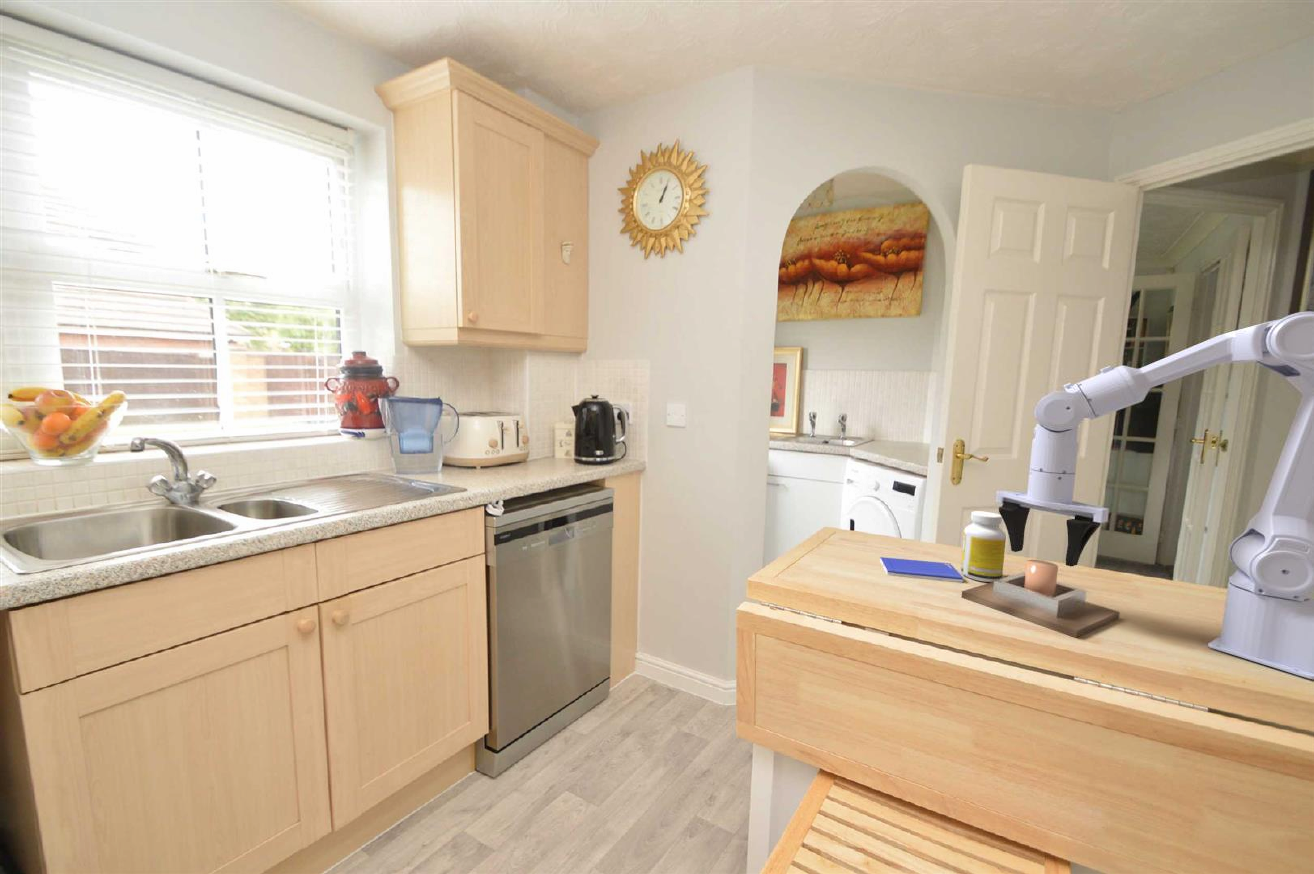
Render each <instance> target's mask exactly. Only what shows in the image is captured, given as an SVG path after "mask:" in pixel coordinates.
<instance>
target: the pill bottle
mask: <svg viewBox="0 0 1314 874" xmlns="http://www.w3.org/2000/svg"><path fill="white" fill-rule="evenodd" d="M970 520H971V521H972V523H971V524H969V525H967V526H965V528H964V531H963V540H962V541H963V543H962V551H961V552H962V553H961V554H962V555H961V565H960V572H961V574H962V576H965V577H966V578H969V579H971V580H975V581H979V582H984V583H985V582H986V583H992V582H994V581H995V580H999V579H1002V578H1003V571H1004V562H1005V551H1006V550H1005V549H1006V541H1007V535H1006V532H1005V531H1004V530H1003V529H1002V528H1000V525H1001V524H1002V520H1003V518H1002V516H1001V515H1000V513H995V512H989V511H982V510H975V511H971V515H970Z"/></svg>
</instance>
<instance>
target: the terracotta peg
mask: <svg viewBox="0 0 1314 874" xmlns="http://www.w3.org/2000/svg"><path fill="white" fill-rule="evenodd" d="M1058 572H1059V566H1058V565H1057V564H1055V563H1052V562H1049V561H1045V560H1042V559H1041V560H1039V559H1027V560H1026V566H1025V573H1026V575H1025V584H1024V588H1025V589H1029V590H1032V591H1035V592H1038V593H1041V594H1045V595H1048V596H1051V597H1055V590H1056V582H1057V581H1058Z"/></svg>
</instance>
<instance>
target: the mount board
mask: <svg viewBox="0 0 1314 874" xmlns="http://www.w3.org/2000/svg"><path fill="white" fill-rule="evenodd" d="M993 588H994V582H987V583H986V584H982V585H978V586H975V587H972V588H968V589H965V590H962V591H961V598H963V599H966V600H968V601H972V602H973V603H977V604H980V605H983V606H985V607H987V608H991V609H994V610H997V611H999V612H1002V613H1005V614H1008V615H1010V616H1014V617H1016V618H1018V619H1022V620H1025V621H1027V622H1030V623H1033V624H1036V625H1038V626H1042V627H1045V628H1048V629H1050V630H1052V631H1055V632H1056V631H1057V632H1059V633H1061V634H1064V635H1066V636H1070V637H1073V638H1075V639H1076V638H1078V637H1081V636H1083V635H1085V634H1087V633H1090V632H1091V631H1094V630H1096V629H1098V628H1100V627H1102V626H1104V625H1107V624H1109V623H1111V622H1114V621H1117V620H1118V619H1119V618H1120V611H1117V610H1114V609H1111V608H1108V607H1105V606H1102V605H1099V604H1098V605H1097V604H1095V603H1091V602H1088V601H1085V607H1082V608H1080V609H1077V610H1075V611H1072V612H1070V613H1067V614H1065V615H1062V616H1060V617H1057V618H1056V617H1053V616H1050V615H1047V614H1044V613H1041V612H1038V611H1035V610H1032V609H1030V608H1027V607H1024V606H1021V605H1018V604H1015V603H1012V602H1009V601H1006V600H1003V599H1000V598H997V597H994V596H993Z"/></svg>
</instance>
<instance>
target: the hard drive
mask: <svg viewBox="0 0 1314 874" xmlns="http://www.w3.org/2000/svg"><path fill="white" fill-rule="evenodd" d="M879 562H880V564H881V566H882V568H883V570H884V572H885V573H886V575H887V576H894V577H895V576H896V577H903V578H912V579H913V578H914V579H921V580H922V579H923V580H933V581H941V582H942V581H943V582H951V583H962V584H963V582H964V577H963V574H962V573H960V571H958V570H957V569H956V568H955V566H953V564H951V563H950V562H939V561H930V560H929V561H928V560H927V561H926V560H917V559H916V560H915V559H906V558H905V559H904V558H895V557H894V558H892V557H882V556H881V557H879ZM961 574H962V575H961Z"/></svg>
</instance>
